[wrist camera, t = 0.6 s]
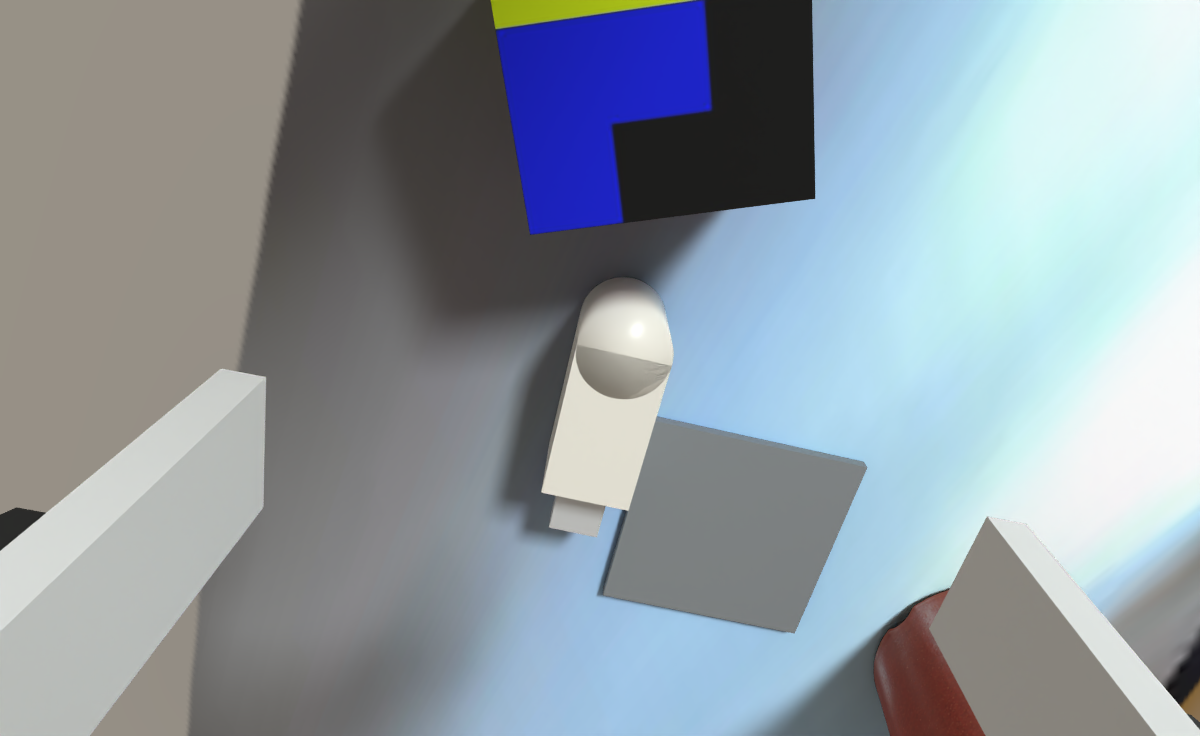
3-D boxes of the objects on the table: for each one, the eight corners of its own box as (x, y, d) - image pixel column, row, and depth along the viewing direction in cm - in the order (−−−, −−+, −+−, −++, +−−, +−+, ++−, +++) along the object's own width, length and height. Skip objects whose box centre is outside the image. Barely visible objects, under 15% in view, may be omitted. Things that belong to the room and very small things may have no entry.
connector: (590, 268, 37) (587, 298, 32) (676, 288, 37) (685, 321, 32) (537, 491, 42) (528, 544, 37) (613, 506, 42) (613, 562, 37)
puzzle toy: (551, 188, 35) (530, 234, 26) (515, -47, 31) (475, -92, 22) (761, 161, 35) (815, 198, 25) (750, -83, 31) (809, -144, 21)
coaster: (654, 415, 40) (655, 420, 39) (863, 461, 41) (866, 467, 40) (603, 588, 44) (603, 595, 44) (792, 626, 45) (794, 633, 45)
